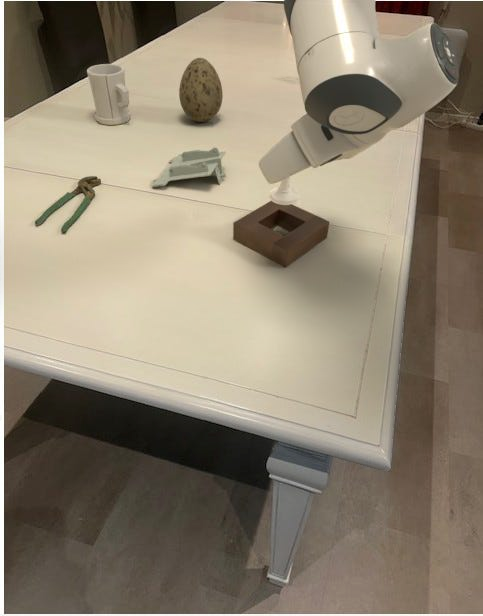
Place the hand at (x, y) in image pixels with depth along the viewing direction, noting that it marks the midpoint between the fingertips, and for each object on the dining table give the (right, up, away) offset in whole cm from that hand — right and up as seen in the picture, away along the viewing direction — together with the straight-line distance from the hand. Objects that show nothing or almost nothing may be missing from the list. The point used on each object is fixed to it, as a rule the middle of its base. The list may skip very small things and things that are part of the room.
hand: (283, 166), depth 77 cm
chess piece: (0, -4, +4) cm, 6 cm away
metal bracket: (-17, +5, +25) cm, 31 cm away
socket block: (0, -10, +9) cm, 14 cm away
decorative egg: (-17, +26, +47) cm, 57 cm away
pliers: (-39, -3, +16) cm, 42 cm away
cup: (-39, +26, +47) cm, 66 cm away
